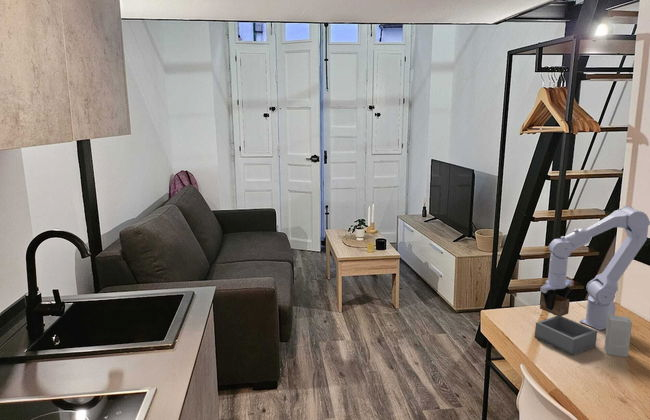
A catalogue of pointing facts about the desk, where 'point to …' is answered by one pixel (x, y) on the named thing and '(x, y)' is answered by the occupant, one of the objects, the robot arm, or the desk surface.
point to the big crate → (565, 334)
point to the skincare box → (618, 335)
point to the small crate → (557, 305)
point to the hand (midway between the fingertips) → (554, 307)
